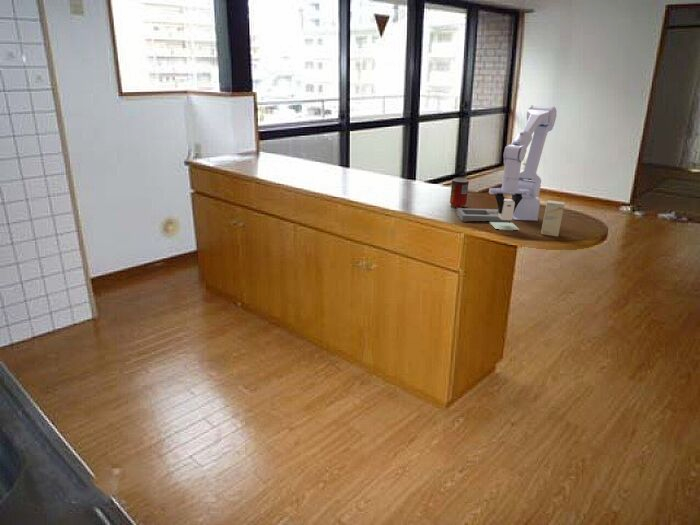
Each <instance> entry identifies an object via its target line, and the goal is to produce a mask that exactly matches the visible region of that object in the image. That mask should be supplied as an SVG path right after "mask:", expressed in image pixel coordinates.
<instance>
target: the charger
mask: <svg viewBox="0 0 700 525" xmlns="http://www.w3.org/2000/svg"><path fill="white" fill-rule="evenodd" d="M514 205H515V202H514V201H513V200H512V198H504V202H503V207H502V213H501V214H500V213H499V214H498V217H499V218H500V219H501V220H510V221H513V220H514V219H513V212H514Z"/></svg>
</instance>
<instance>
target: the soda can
mask: <svg viewBox="0 0 700 525" xmlns="http://www.w3.org/2000/svg"><path fill="white" fill-rule="evenodd" d="M469 183H470V181H469V179H467V178H466V177H465V178H464V177H455V178H453V179H452V181H451V189H450V196H449V198H450V200H449V203H450V205H451V207H452V208H454V207H456V209H457V208H462V207H464V208H465V206H466V205H467V201H468V193H469V192H468V191H469Z"/></svg>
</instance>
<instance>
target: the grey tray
mask: <svg viewBox="0 0 700 525" xmlns="http://www.w3.org/2000/svg"><path fill="white" fill-rule="evenodd" d="M498 214H499V212H498V208H497V209H496V208H491V209H490V208H465V207H464V208H456V215H457V217H458V216H459V217H460V218H459V217H458V218H459V220H460V221H461V220H462V221H461V222H467V221H490V222H510V223H511V220H501V219H500V218H499V217H498Z"/></svg>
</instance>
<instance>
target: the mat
mask: <svg viewBox="0 0 700 525" xmlns="http://www.w3.org/2000/svg"><path fill="white" fill-rule="evenodd" d="M488 223H489V225H490V226H491V225H492V226H493V227H494V228H495V229H499V230H498V231H513V230H518V232H519V231H520V228H519V227H517V225H515V223H513V222H510V223H509V222H488ZM492 226H491V227H492ZM493 227H492V228H493ZM494 228H493V229H494ZM495 229H494V230H495Z"/></svg>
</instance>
